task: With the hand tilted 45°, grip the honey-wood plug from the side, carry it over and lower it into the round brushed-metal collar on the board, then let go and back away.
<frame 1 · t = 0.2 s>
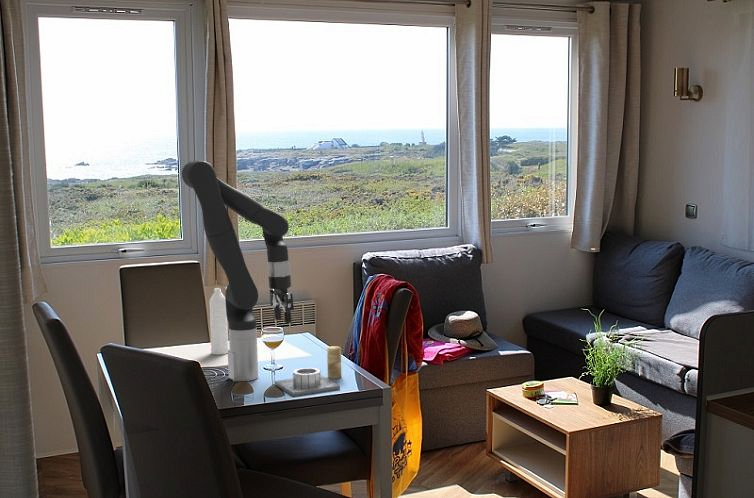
hand: (283, 320, 297), 18 cm above the table, tool pointing down, fingers open, 8 cm apart
plug: (334, 376, 293), on the table
water bottle: (222, 353, 330), on the table
socket board: (307, 386, 280), on the table
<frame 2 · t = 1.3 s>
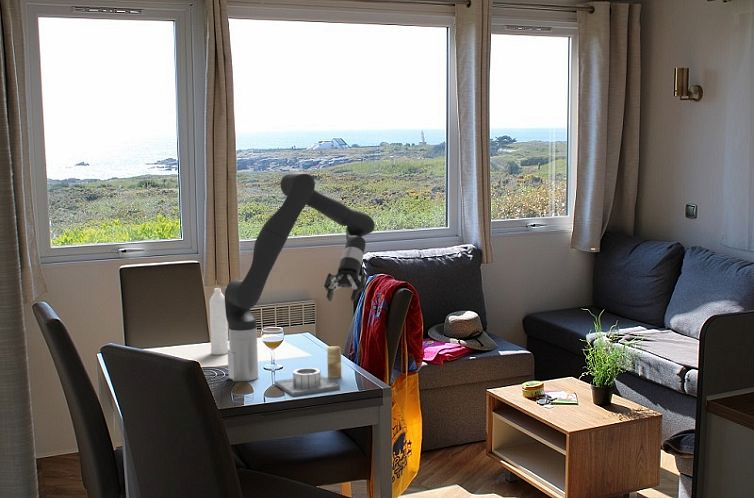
hand: (340, 300, 299), 25 cm above the table, tool tilted 45°, fingers open, 8 cm apart
nothing on the table moved.
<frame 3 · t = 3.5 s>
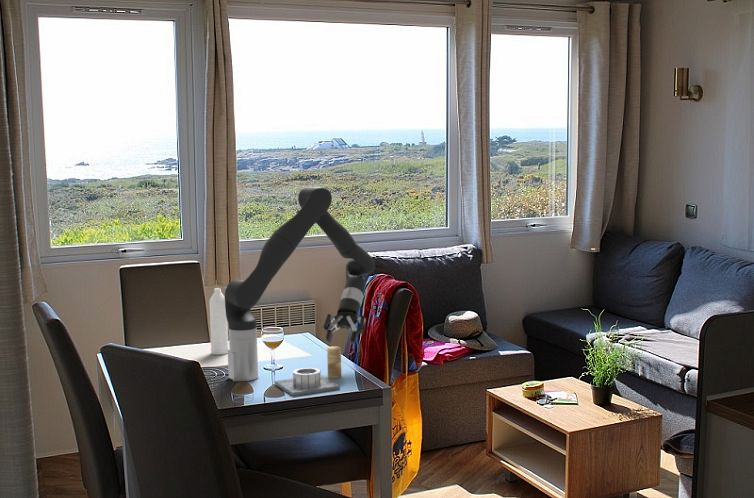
hand: (340, 341, 297), 11 cm above the table, tool tilted 45°, fingers open, 8 cm apart
nothing on the table moved.
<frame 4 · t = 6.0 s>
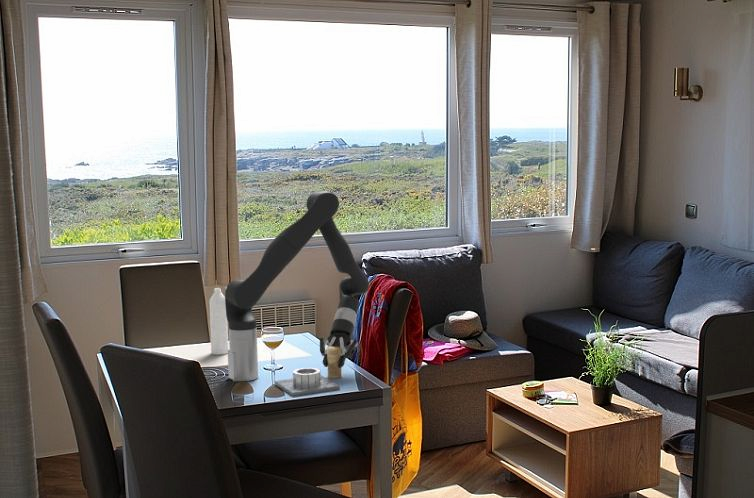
hand: (332, 366, 290), 4 cm above the table, tool tilted 45°, fingers closed on plug, 4 cm apart
plug: (334, 376, 292), on the table, touching gripper
everything else where it was.
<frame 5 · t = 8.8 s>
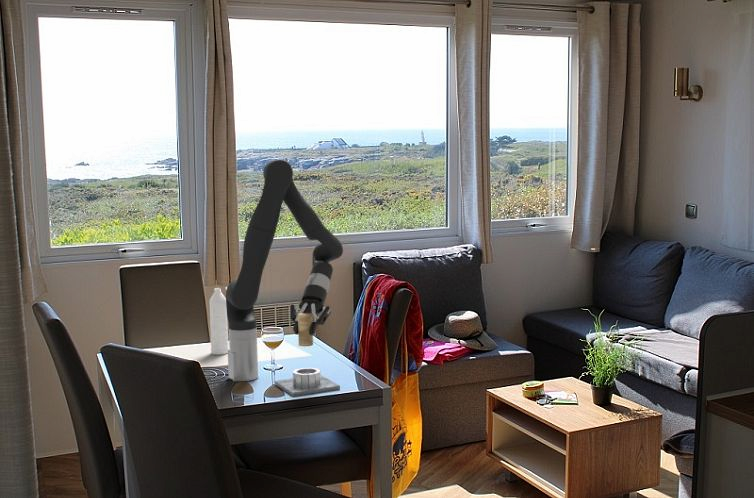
hand: (303, 333, 277), 18 cm above the table, tool tilted 45°, fingers closed on plug, 4 cm apart
plug: (305, 344, 279), point 14 cm above the table, touching gripper
everything else where it was.
when the fingers open (7 cm above the table, at t = 11.8 s): plug drops 1 cm, resting on socket board.
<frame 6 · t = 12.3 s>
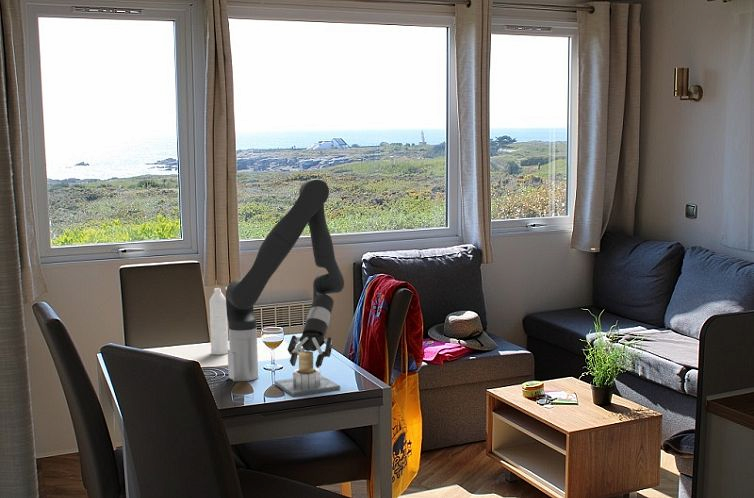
hand: (304, 365, 278), 7 cm above the table, tool tilted 45°, fingers open, 8 cm apart
plug: (306, 383, 280), point 1 cm above the table, touching socket board
everything else where it was.
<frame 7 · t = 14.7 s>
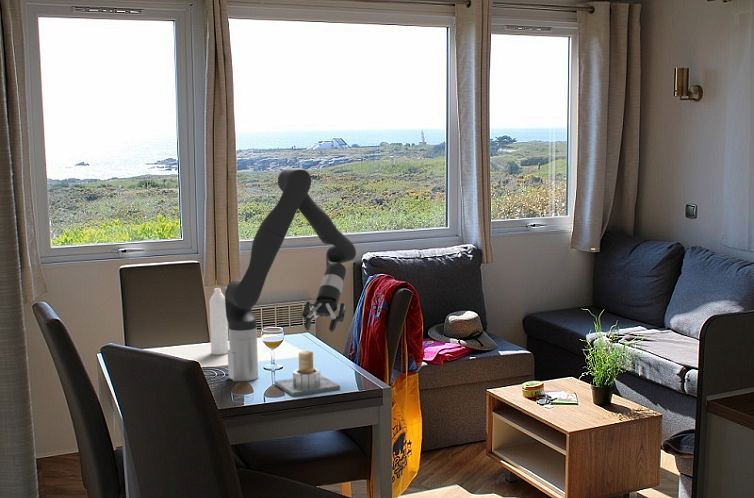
hand: (318, 329, 289), 16 cm above the table, tool tilted 45°, fingers open, 8 cm apart
nothing on the table moved.
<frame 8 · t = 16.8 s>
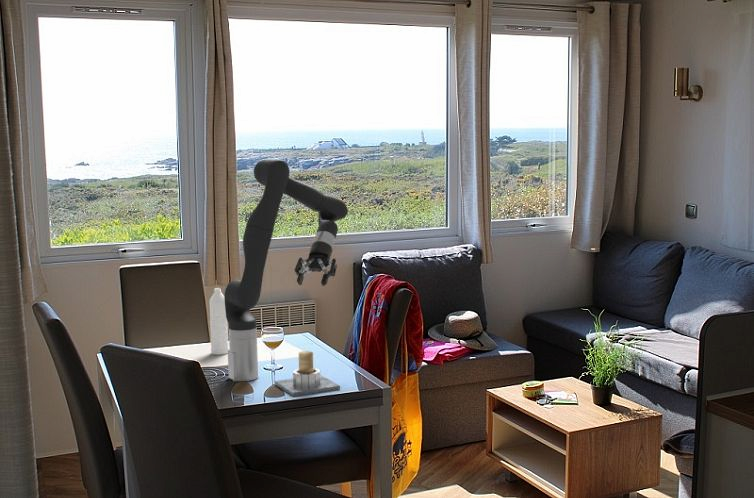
hand: (311, 284, 295), 31 cm above the table, tool tilted 45°, fingers open, 8 cm apart
nothing on the table moved.
at the end: plug 0.2 cm off-centre on the socket board, point 1.2 cm above the socket board's base; plug tilted 0°; the gripper is holding nothing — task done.
